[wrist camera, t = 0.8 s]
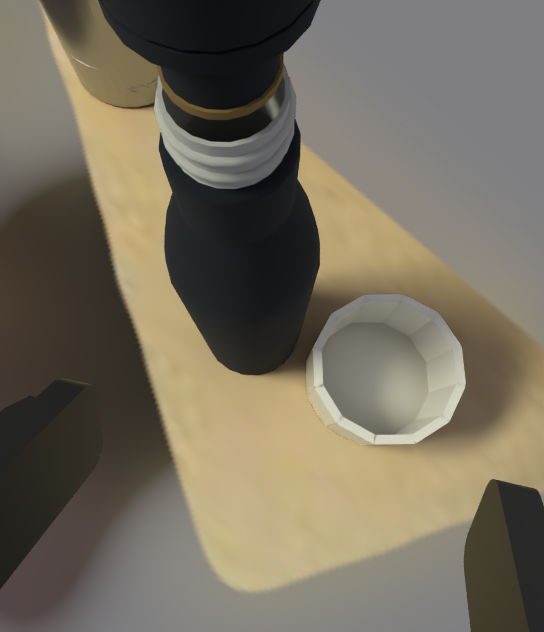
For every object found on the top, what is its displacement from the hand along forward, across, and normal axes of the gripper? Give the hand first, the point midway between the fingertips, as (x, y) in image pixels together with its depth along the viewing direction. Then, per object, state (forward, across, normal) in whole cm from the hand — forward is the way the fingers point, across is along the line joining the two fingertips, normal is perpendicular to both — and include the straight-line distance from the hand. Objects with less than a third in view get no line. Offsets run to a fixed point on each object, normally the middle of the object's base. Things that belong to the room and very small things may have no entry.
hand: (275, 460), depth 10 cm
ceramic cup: (+22, -2, +12) cm, 25 cm away
